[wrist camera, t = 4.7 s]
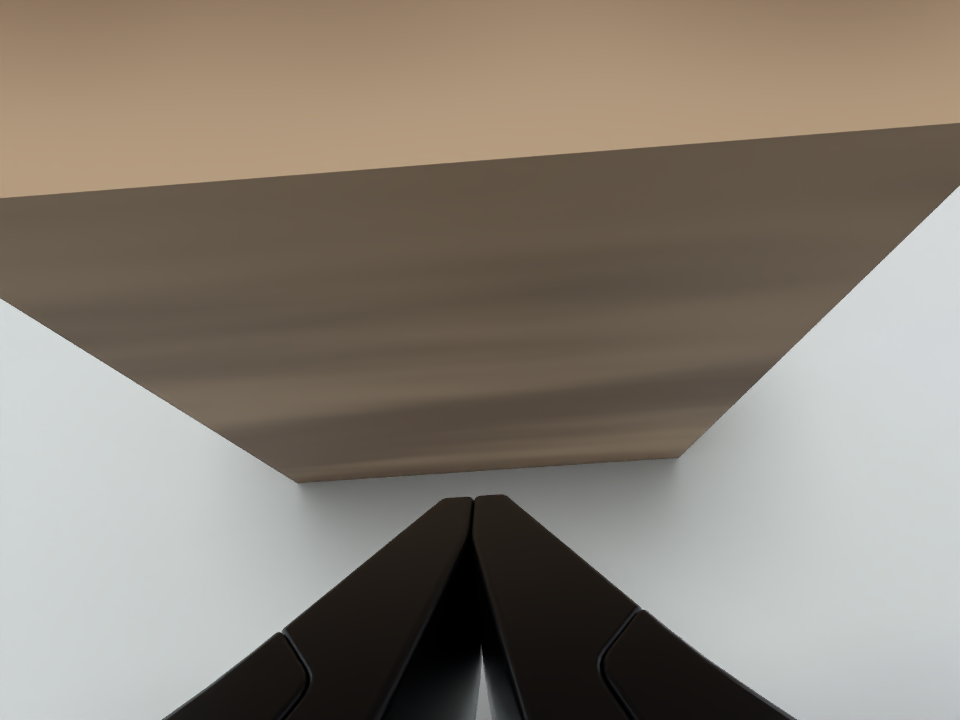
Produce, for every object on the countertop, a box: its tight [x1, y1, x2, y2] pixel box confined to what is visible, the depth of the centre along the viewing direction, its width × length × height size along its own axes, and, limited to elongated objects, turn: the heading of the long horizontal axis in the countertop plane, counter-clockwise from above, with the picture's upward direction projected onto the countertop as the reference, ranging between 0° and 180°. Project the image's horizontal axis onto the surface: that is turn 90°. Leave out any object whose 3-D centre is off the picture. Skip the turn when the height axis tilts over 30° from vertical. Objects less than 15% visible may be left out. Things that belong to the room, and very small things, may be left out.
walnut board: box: [0, 0, 960, 483], centre depth 12 cm, size 4×10×12 cm, turn 93°
